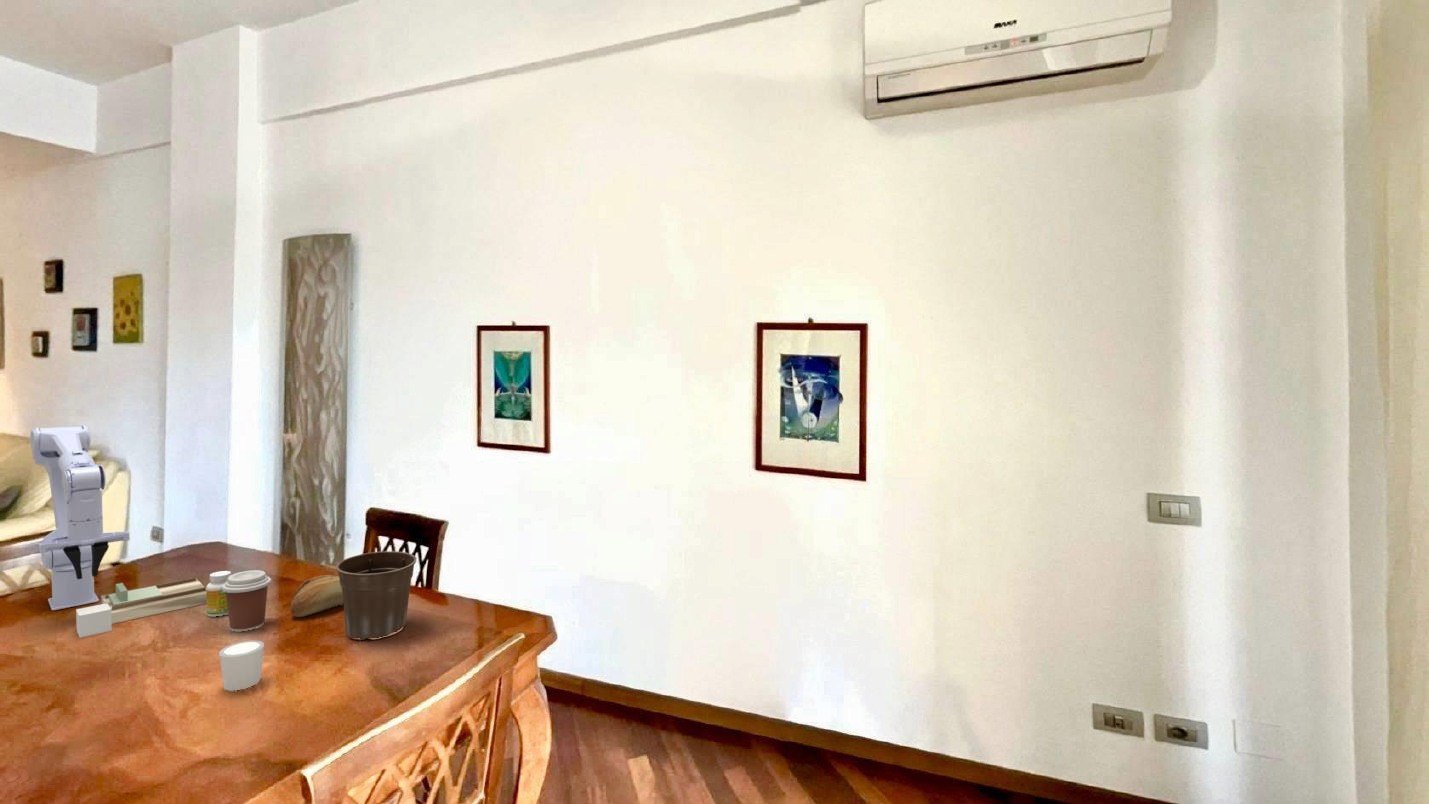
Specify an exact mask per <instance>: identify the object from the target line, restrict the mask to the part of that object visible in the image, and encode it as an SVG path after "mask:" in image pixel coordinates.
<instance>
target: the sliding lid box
mask: <svg viewBox="0 0 1429 804" xmlns="http://www.w3.org/2000/svg"><path fill="white" fill-rule="evenodd" d="M152 586H156V587H157V588H158V589H159V591H160V592H161V593H162V594H163V596H158V597H153V598H148V599H143V600H138V601H133V602H128V603H123V604H119V605H114V606H113V604H112V602H111V601H110V599H109V595H111V594H116V592H112V593H106V594H104V595H101V596H100V605H101V604H106V603H108V605H109V607H110V608H111V625H113V624H119V623H123V622H127V621H132V620H136V619H142V618H145V617H149V616H154V615H159V614H164V613H167V612H172V611H177V610H183V609H186V608H190V607H195V606H200V605H205V604H207V598H206V587H207V586H206V587H205V585H204V584H202V582H200V581H199V579H197V578H196V577H190V578H185V579H180V580H174V581H169V582H163V583H159V584H154V585H153V584H152V585H147V586H142V587H137V588H131V589H127V590H128V591H131V590H136V589H142V588H147V587H152Z"/></svg>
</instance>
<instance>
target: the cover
mask: <svg viewBox="0 0 1429 804" xmlns="http://www.w3.org/2000/svg"><path fill="white" fill-rule="evenodd" d="M151 586H152V585H151ZM146 587H147V586H146ZM141 588H142V587H141ZM135 589H136V590H131V589H130V590H131V591H128V590H129V589H128V588H127V587H126V586H125V585H124V583H123V582H120V583H116V584H115V593H116V594H111V593H110V594H111V595H109V599H110V601H111V602H112V604H113V606H114V605H119V604H123V603H128V602H133V601H138V600H143V599H148V598H153V597H158V596H163V594H162V593H161V592H160V591H159V589H158V588H157V587H156V586H152V587H147V588H142V589H137V588H135Z"/></svg>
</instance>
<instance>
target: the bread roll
mask: <svg viewBox="0 0 1429 804" xmlns="http://www.w3.org/2000/svg"><path fill="white" fill-rule="evenodd" d="M341 604H343V605H344V603H343V593H342V586H341V585H340V580H339V575H335V574H325V575H318V576H314V577H312V578H310V579H306V580H305V581H303V582H302V583H301V584H300V585H299V586H297V588H296V590H295V592H294V594H293V596H292V598H291V602H290V612H291V615H293V617H295V618H300V617H301V618H302V617H306V616H307V617H308V616H310V615H312V614H317V613H320V612H323V611H325V610H329V609H332V607H333V608H336V607H339V606H338V605H340V606H342V605H341ZM335 606H336V607H335Z"/></svg>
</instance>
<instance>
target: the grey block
mask: <svg viewBox="0 0 1429 804" xmlns="http://www.w3.org/2000/svg"><path fill="white" fill-rule="evenodd" d="M75 615H76V618H75V619H76V620H75V621H76V622H75V623H76V633H77V635H78V637H79V638H80V639H81V638H86V637H90V636H95V635H99V634H104V633H108V632H112V631H113V630H112V625H113V624H111V608H110V607H109V605H108V603H106V604H101V603H100V604H96V605H92V606H87V607H86V606H85V607H81V608H76V609H75Z"/></svg>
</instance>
